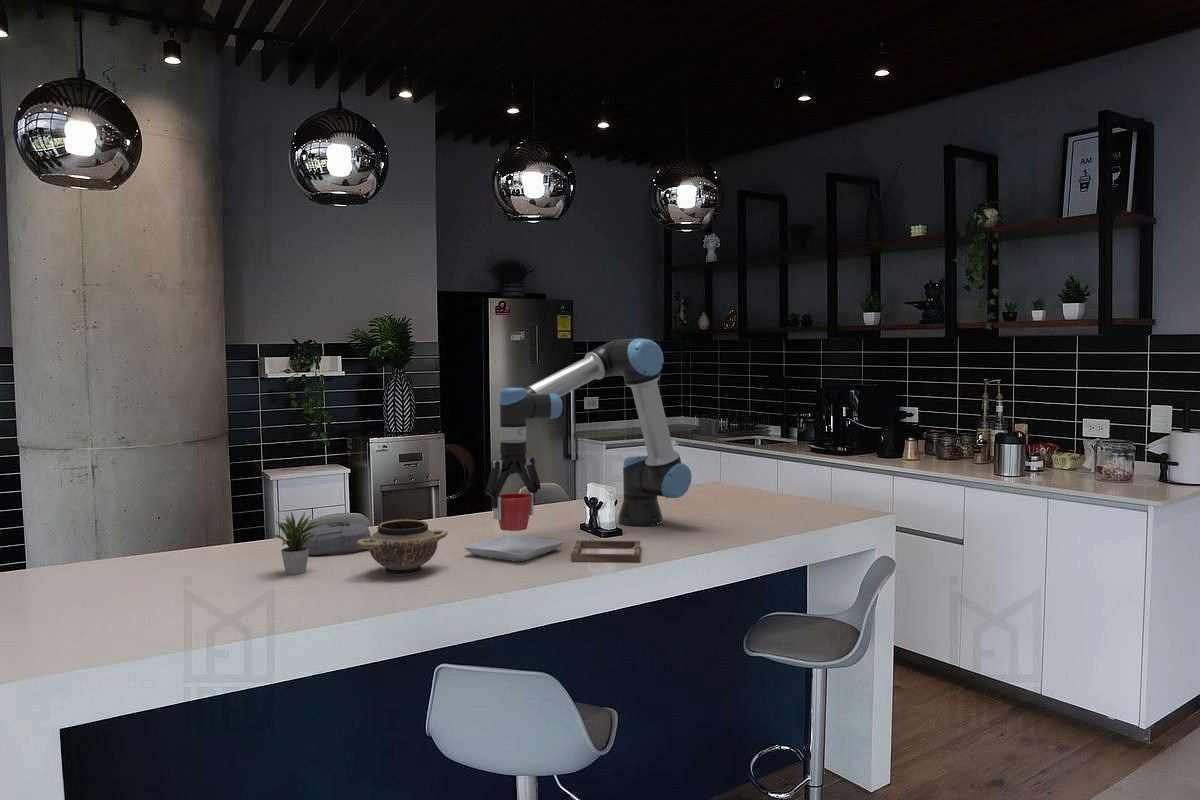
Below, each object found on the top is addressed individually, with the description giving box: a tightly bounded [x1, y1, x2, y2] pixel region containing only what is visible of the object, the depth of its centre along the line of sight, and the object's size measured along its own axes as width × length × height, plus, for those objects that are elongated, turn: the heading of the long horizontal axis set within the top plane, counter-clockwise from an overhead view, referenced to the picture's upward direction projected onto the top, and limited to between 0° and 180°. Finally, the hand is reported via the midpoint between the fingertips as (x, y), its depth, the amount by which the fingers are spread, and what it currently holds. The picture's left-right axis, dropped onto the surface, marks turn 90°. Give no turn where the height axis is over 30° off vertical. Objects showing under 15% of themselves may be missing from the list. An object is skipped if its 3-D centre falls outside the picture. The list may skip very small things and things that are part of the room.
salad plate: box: [464, 534, 564, 562], centre depth 252 cm, size 21×21×3 cm
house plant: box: [270, 510, 322, 576], centre depth 229 cm, size 14×14×16 cm
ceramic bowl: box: [357, 518, 449, 577], centre depth 231 cm, size 24×18×15 cm
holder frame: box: [570, 539, 641, 563], centre depth 250 cm, size 19×19×2 cm
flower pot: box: [498, 492, 532, 532], centre depth 251 cm, size 11×11×10 cm
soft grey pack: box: [301, 521, 372, 556], centre depth 257 cm, size 15×8×20 cm
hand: (513, 516), depth 252 cm, fingers closed on flower pot, 11 cm apart
